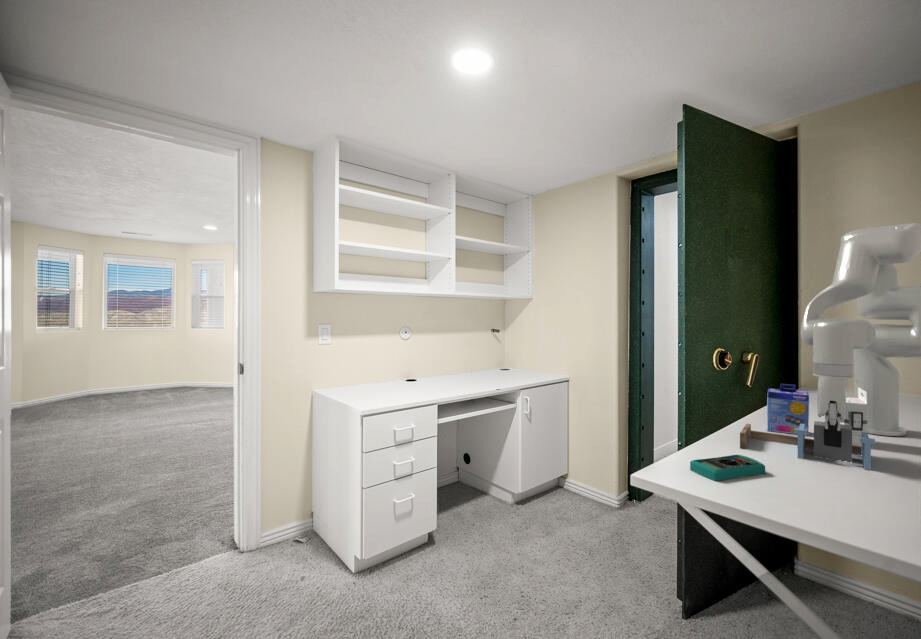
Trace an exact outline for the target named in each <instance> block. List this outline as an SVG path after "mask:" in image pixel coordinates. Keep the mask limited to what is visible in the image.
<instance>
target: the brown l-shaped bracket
mask: <svg viewBox="0 0 921 639" xmlns="http://www.w3.org/2000/svg"><path fill="white" fill-rule="evenodd" d="M751 426H752V425H751V423H746V424H745V425H744V426H743V428H742V429H741V431H740V432H739V449H746V447H747V445H748V444H749V442H750V440H751V439H754V440H759V441H760V440H761V441H768V442H775V443H781V444H786V445H792V444H793V445H792V446H794V445H795V446H798V436H795V435H794V436H792V435H787V434H780V433H772V432H764V431H758V430H752V427H751ZM805 446H806V447H807V448H812V447H813V448H812V449H814V438H808V437H807V438H806V437H805ZM806 447H805V448H806ZM852 453H853V454H852V455H857V454H859V456H861V446H856V445H852Z"/></svg>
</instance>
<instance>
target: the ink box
mask: <svg viewBox="0 0 921 639" xmlns="http://www.w3.org/2000/svg"><path fill="white" fill-rule="evenodd" d="M861 393H863V395H864V397H863V396H862V395H861ZM840 424H843V425H851V426H852V445H856V446H861V444H862V443H860V437H862V431H863V432H867V392H866V391H864V390H862V389H861V388H859V387H858V398H855V397H850V396H849V397H847V396H846V408H845V414H844V419H842V420H841V418H840Z"/></svg>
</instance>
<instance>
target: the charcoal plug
mask: <svg viewBox="0 0 921 639" xmlns="http://www.w3.org/2000/svg"><path fill="white" fill-rule="evenodd" d="M824 429H825V421H816V420H814V421H813V439H814V448H813V457H814V456H815V458H819V457H822V459H825V458H828V459H827V460H831V459H833V460H834V461H837V460H841V461H840V462H843V461H847V462H846V463H850V462H852V463H853V454H852V426H851V425H843V424H840V431H842V446H841V448H839V447H832V446H826V445H824ZM833 460H832V461H833Z"/></svg>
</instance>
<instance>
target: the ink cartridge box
mask: <svg viewBox="0 0 921 639" xmlns="http://www.w3.org/2000/svg"><path fill="white" fill-rule="evenodd" d="M788 387H789V388H788ZM796 388H797V387H796V384H790V383H789V384H788V383H780V386H779V388H767V393H766V394H767V398H766V399H767V400H766V417H767V418H766V421H767V424H766V425H767V427H766V428H767V429H766V430H767V432H774V433H779V434H780V433H781V434H782V433H783V434H789V435H794V436H796V435H797V436H798V434H796V433H794V428H797V429H799V426H800V424H805V430H807V435H805V437H808V436H809V435H810V433H809V421H810V420H809V418H810V417H809V416H810V414H809V413H810V395H809V392H808V391H805V390H797V389H796Z"/></svg>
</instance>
